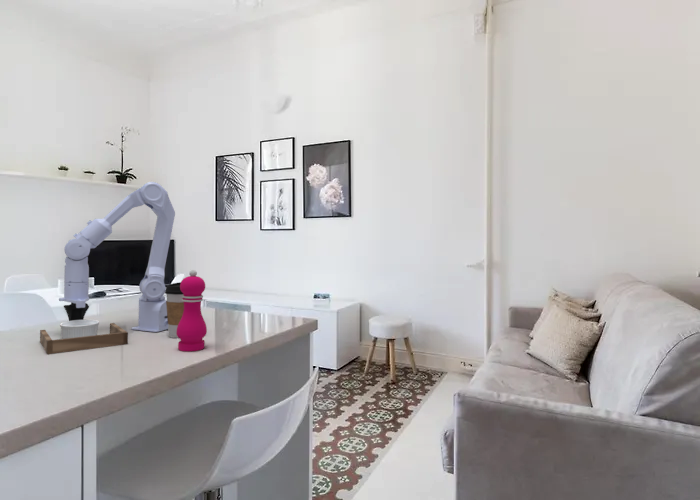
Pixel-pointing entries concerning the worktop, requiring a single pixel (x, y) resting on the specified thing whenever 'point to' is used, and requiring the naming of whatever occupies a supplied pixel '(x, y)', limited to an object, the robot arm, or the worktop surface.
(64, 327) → the ramekin
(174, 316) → the coffee cup
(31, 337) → the worktop surface
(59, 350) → the box
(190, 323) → the pepper mill
